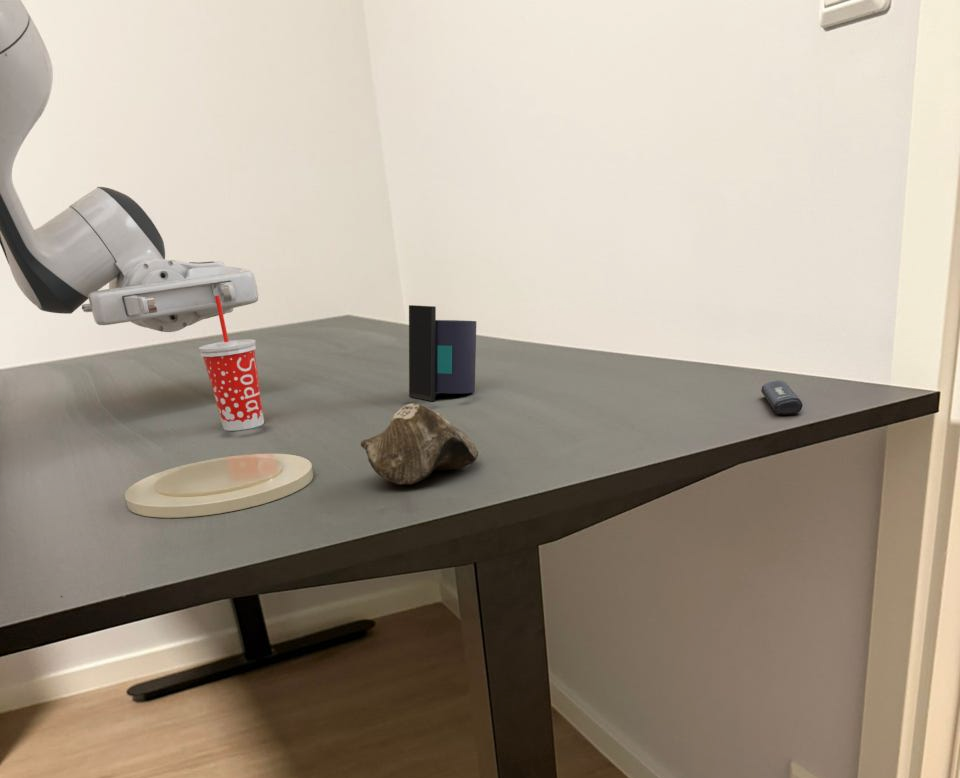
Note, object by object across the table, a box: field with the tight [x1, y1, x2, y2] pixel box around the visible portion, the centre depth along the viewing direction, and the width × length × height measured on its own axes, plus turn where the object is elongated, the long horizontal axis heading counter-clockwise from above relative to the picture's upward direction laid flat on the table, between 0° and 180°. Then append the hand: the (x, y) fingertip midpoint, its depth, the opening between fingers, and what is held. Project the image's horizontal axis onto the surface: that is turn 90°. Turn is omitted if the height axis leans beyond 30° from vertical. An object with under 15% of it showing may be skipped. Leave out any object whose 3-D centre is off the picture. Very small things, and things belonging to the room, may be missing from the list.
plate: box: [124, 453, 314, 519], centre depth 83 cm, size 16×16×1 cm
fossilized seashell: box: [360, 403, 479, 485], centre depth 79 cm, size 8×7×10 cm
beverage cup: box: [198, 295, 265, 432], centre depth 105 cm, size 6×6×14 cm
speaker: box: [408, 304, 477, 402], centre depth 110 cm, size 8×6×10 cm
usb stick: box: [760, 380, 804, 416], centre depth 90 cm, size 10×3×2 cm, turn 172°
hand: (189, 299), depth 112 cm, fingers open, 8 cm apart
